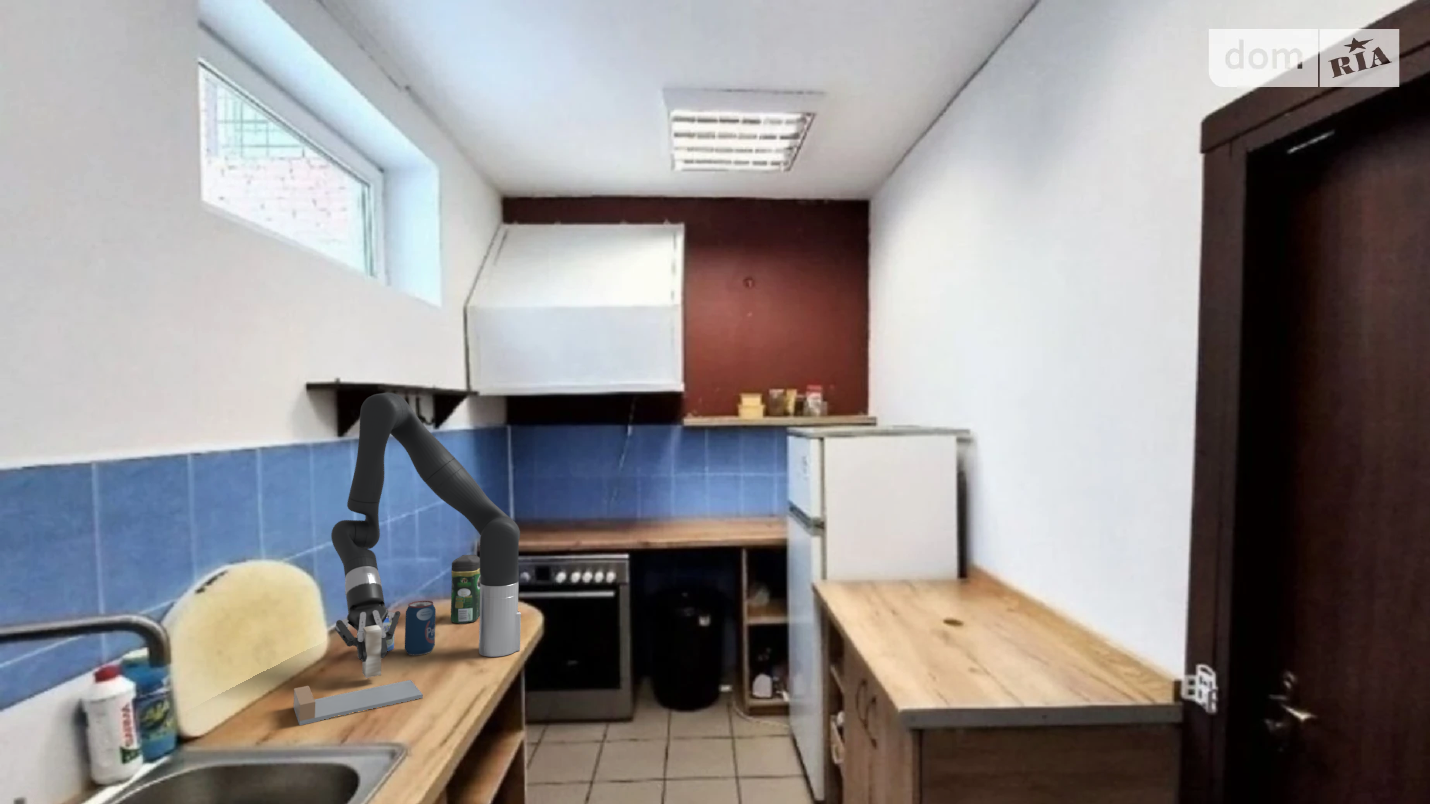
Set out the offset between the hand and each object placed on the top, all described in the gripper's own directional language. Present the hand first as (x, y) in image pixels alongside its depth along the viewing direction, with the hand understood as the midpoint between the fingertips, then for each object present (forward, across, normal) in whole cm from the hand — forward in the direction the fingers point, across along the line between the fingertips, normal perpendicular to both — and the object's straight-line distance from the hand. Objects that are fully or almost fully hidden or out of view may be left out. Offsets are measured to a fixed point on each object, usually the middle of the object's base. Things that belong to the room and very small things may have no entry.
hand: (373, 657), depth 148 cm
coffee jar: (-23, +32, +32) cm, 51 cm away
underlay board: (+10, -4, -2) cm, 12 cm away
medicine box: (-11, +5, +20) cm, 23 cm away
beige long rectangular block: (+1, 0, +4) cm, 5 cm away
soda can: (-8, +14, +16) cm, 23 cm away
